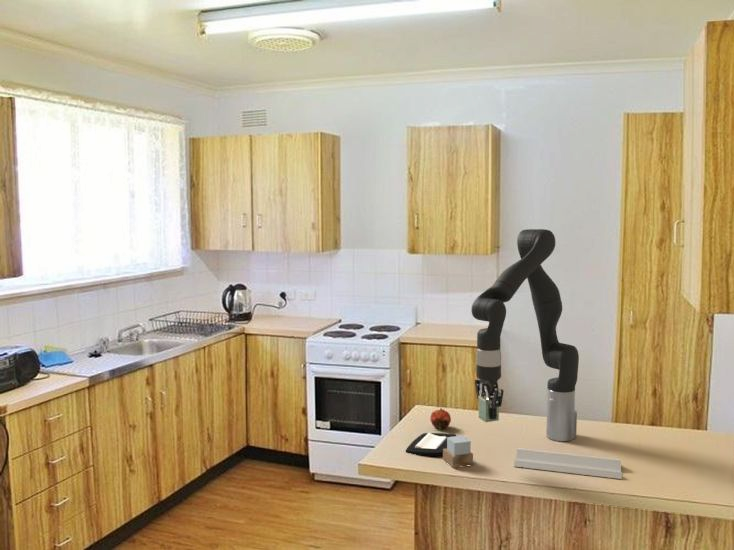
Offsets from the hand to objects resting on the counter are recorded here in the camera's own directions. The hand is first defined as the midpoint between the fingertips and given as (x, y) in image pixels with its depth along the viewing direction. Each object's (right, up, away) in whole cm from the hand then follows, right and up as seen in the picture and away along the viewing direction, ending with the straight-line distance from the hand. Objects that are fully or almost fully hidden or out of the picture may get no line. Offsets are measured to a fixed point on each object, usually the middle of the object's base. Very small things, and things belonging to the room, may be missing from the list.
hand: (488, 416), depth 203 cm
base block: (-9, -16, +4) cm, 19 cm away
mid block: (-9, -12, +3) cm, 15 cm away
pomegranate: (-11, -12, +36) cm, 39 cm away
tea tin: (0, -1, 0) cm, 1 cm away
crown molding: (+25, -16, +1) cm, 30 cm away
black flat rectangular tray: (-16, -15, +19) cm, 29 cm away
